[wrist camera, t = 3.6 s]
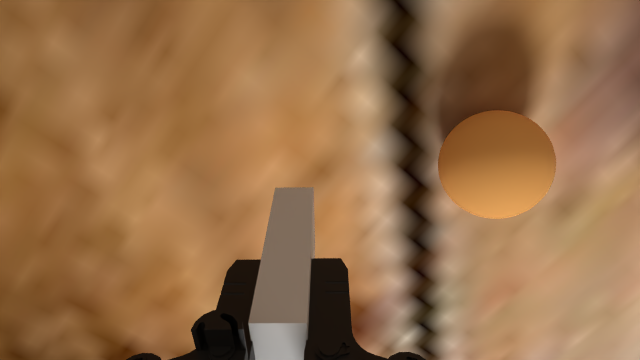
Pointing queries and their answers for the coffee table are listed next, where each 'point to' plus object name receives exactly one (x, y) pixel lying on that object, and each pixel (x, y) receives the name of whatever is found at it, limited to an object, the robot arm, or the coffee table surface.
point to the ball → (497, 164)
